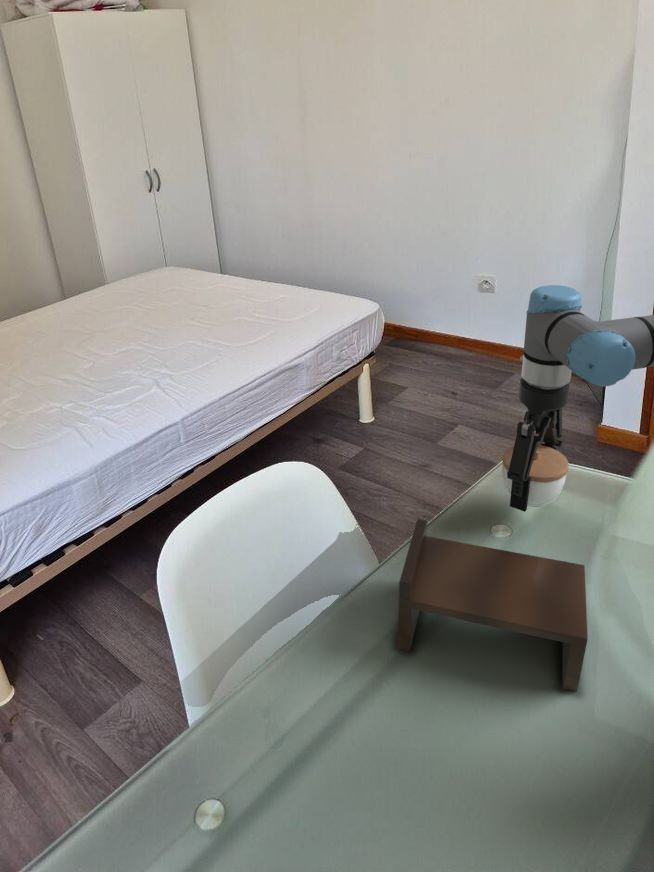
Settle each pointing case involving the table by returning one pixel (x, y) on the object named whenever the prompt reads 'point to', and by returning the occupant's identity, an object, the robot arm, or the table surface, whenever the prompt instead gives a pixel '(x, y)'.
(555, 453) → the trinket box
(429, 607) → the shelf
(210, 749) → the table surface
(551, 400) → the robot arm
